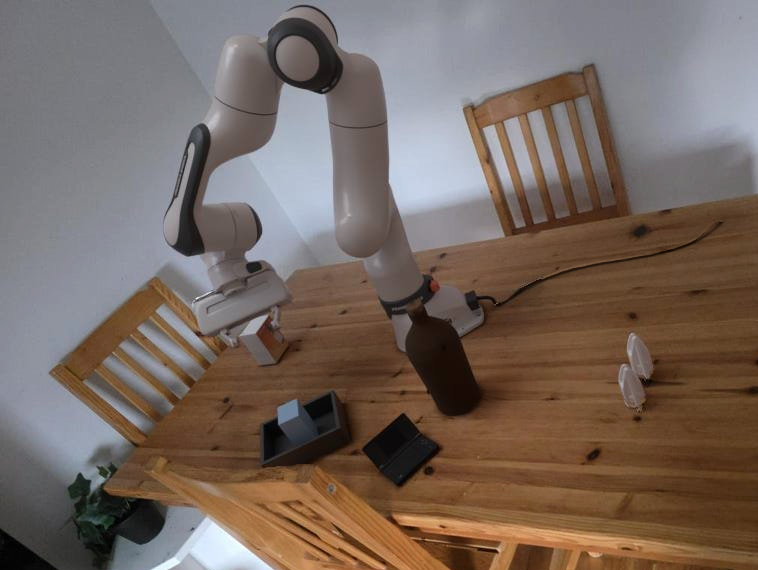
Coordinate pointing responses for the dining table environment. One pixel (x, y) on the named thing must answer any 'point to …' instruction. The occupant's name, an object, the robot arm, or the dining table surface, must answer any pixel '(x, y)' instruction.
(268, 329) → the small box
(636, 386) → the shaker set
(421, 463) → the handheld gaming console
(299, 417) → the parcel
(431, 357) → the olive oil
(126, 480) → the dining table surface
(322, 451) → the tote
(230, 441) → the dining table surface
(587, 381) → the dining table surface
